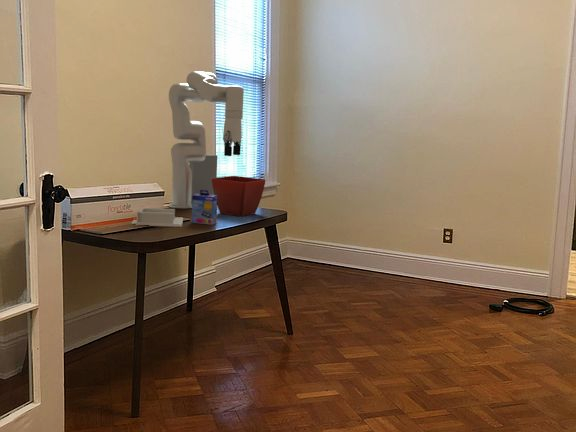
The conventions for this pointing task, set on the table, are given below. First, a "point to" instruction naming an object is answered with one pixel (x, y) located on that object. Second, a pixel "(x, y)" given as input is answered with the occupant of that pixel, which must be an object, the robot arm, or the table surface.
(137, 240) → the table surface
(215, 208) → the ink cartridge box
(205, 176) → the grey slab
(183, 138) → the robot arm
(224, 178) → the plant pot
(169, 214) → the end holder
